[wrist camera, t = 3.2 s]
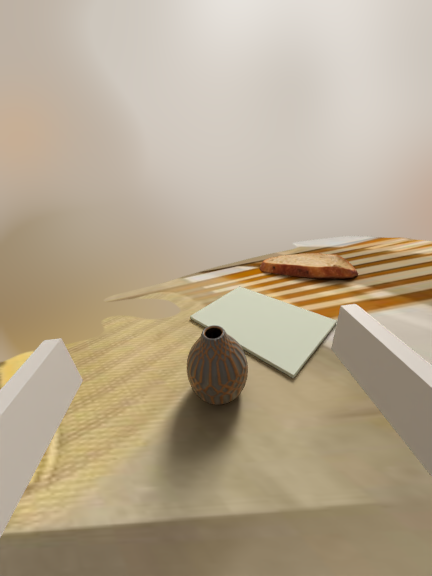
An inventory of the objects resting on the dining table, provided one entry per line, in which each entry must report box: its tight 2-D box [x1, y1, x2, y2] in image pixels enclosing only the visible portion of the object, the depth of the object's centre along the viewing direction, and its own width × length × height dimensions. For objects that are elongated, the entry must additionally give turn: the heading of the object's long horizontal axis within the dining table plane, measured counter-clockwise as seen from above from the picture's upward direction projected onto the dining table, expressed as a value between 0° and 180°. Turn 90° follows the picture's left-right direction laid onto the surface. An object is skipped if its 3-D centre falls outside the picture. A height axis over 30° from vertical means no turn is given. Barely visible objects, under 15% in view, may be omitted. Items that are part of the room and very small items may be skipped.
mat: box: [190, 286, 337, 378], centre depth 38 cm, size 20×14×1 cm
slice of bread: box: [260, 253, 358, 279], centre depth 54 cm, size 18×18×4 cm
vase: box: [187, 325, 248, 405], centre depth 25 cm, size 7×7×9 cm
